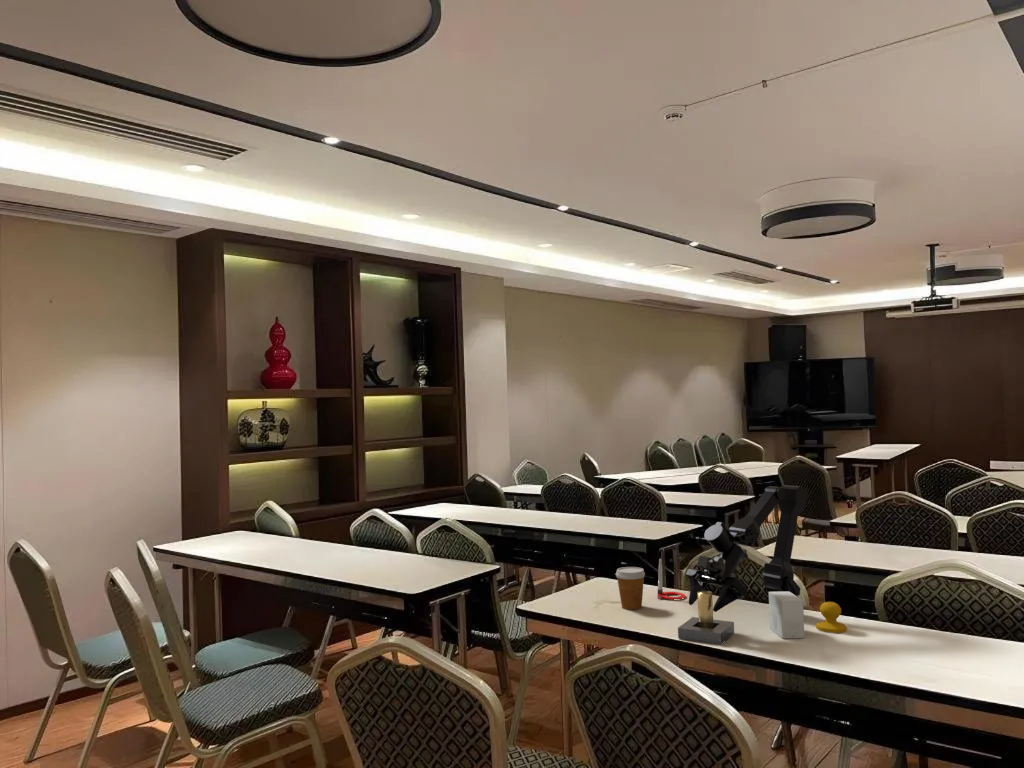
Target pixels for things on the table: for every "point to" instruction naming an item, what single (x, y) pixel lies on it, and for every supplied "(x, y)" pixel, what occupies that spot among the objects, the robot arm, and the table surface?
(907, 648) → the table surface
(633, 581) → the disposable coffee cup
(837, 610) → the doorknob
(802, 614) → the skincare box
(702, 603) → the brass pin
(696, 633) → the block
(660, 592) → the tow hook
